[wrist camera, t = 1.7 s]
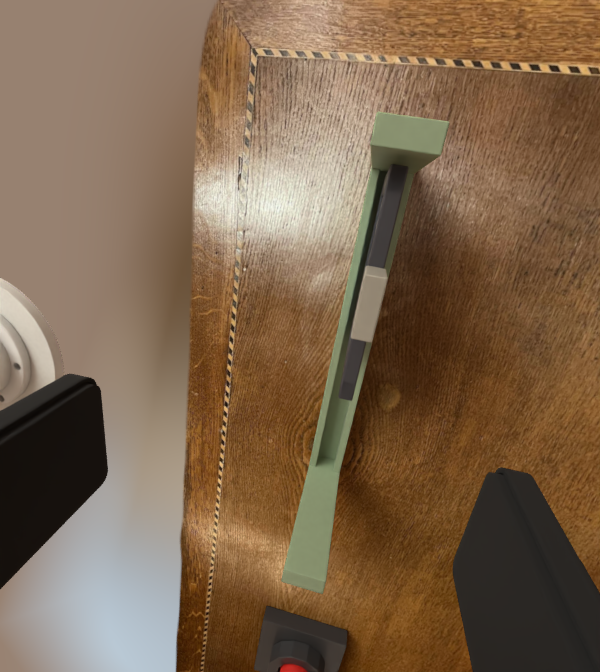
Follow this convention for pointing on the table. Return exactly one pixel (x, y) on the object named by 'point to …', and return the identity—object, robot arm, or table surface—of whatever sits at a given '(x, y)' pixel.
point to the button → (292, 668)
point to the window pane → (373, 278)
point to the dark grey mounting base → (298, 643)
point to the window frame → (337, 414)
